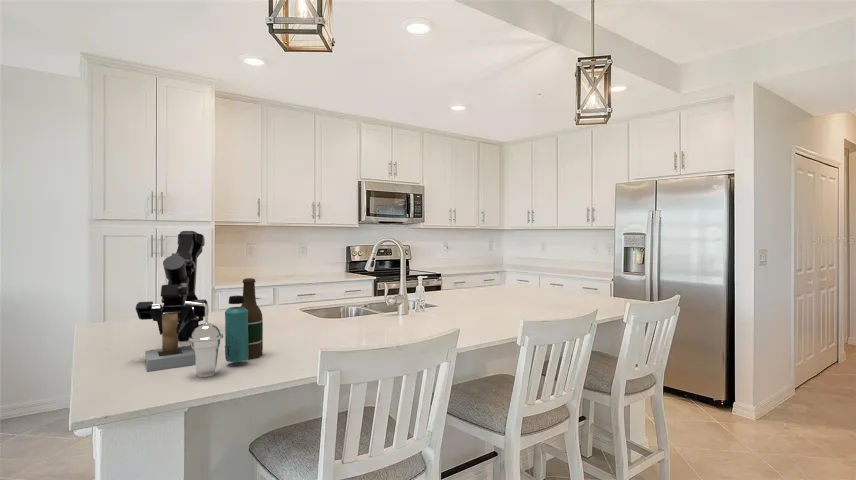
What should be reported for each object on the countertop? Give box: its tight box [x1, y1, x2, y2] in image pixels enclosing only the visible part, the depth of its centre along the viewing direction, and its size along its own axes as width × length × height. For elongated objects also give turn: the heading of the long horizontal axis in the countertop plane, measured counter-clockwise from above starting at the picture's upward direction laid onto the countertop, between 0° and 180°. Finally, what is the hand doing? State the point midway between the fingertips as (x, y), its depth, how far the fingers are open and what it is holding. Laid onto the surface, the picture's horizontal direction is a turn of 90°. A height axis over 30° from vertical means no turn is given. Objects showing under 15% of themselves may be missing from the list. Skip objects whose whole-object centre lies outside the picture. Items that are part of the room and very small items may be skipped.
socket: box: [144, 344, 196, 373], centre depth 135 cm, size 12×12×3 cm
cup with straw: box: [185, 301, 224, 378], centre depth 125 cm, size 8×9×20 cm
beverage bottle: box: [224, 295, 249, 363], centre depth 134 cm, size 6×7×20 cm
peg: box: [161, 313, 179, 356], centre depth 135 cm, size 4×4×12 cm
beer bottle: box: [240, 277, 264, 360], centre depth 142 cm, size 8×8×24 cm
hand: (169, 333), depth 134 cm, fingers closed on peg, 4 cm apart
